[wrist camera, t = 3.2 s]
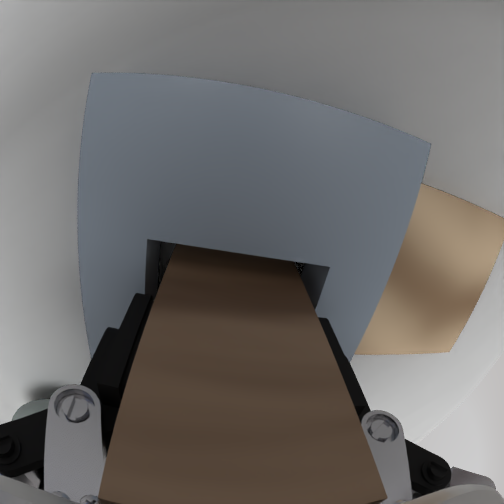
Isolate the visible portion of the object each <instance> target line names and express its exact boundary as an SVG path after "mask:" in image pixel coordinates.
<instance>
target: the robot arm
mask: <svg viewBox="0 0 504 504" xmlns="http://www.w3.org/2000/svg"><path fill="white" fill-rule="evenodd" d="M153 303H154V300H153V298H152V296H151V295H146V294H140V293H135V295H134V297H133V299H132V301H131V304H130V306H129V308H128V310H127V312H126V314H125V317H124V319H123V321H122V323H121V325H120V328H119V329H117V328H112V327H108V328H107V329H106V330H105V332H104V334H103V336H102V338H101V340H100V342H99V344H98V346H97V349H96V351H95V353H94V355H93V357H92V359H91V362H90V364H89V366H88V368H87V370H86V373H85V375H84V377H83V380H82V382H81V384H80V385H77V384H72V385H66V386H63V387H60V388H59V389H57V390H56V391H55V392H54V393H53V394H52V396H51V397H50V401H49V405H48V409H45V410H42V411H39V412H37V413H34V414H31V415H28V416H25V417H22V418H19V419H17V420H14V421H11V422H8V423H5V424H1V425H0V504H102V502H101V501H100V500H99V498H98V494H99V489H100V485H101V480H102V475H103V471H104V466H105V462H106V458H107V454H108V449H109V445H110V441H111V437H112V434H113V430H114V426H115V422H116V419H117V415H118V411H119V408H120V404H121V401H122V397H123V394H124V390H125V387H126V384H127V380H128V377H129V374H130V371H131V368H132V364H133V361H134V358H135V355H136V352H137V349H138V346H139V343H140V340H141V337H142V334H143V331H144V328H145V325H146V322H147V320H148V317H149V314H150V311H151V308H152V306H153ZM318 319H319V321H320V323H321V326H322V328H323V331H324V333H325V335H326V338H327V340H328V343H329V345H330V347H331V350H332V352H333V355H334V357H335V360H336V362H337V365H338V367H339V370H340V372H341V375H342V377H343V379H344V382H345V385H346V387H347V390H348V392H349V395H350V397H351V400H352V402H353V405H354V407H355V410H356V413H357V415H358V418H359V420H360V423H361V426H362V428H363V431H364V434H365V436H366V439H367V442H368V444H369V447H370V450H371V452H372V455H373V458H374V461H375V463H376V466H377V469H378V472H379V474H380V477H381V480H382V483H383V486H384V489H385V492H386V494H387V497H388V498H387V499H386V500H384V501H383V502H381V503H380V504H504V499H503V498H502V496H501V495H500V494H499V492H498V491H496V488H495V485H494V482H493V481H492V480H491V479H490V478H488V477H486V476H482V475H479V474H475V473H472V472H468V471H465V470H462V469H459V468H456V467H452V468H451V469H450V467H449V465H448V463H447V462H446V461H445V460H444V459H443V458H441V457H439V456H437V455H435V454H433V453H431V452H429V451H427V450H425V449H423V448H421V447H420V446H418V445H416V444H414V443H412V442H410V441H408V440H406V439H405V438H404V432H403V428H402V425H401V423H400V422H399V420H398V419H397V418H396V417H395V416H393V415H392V414H390V413H388V412H386V411H382V410H373V411H371V410H370V408H369V406H368V403H367V401H366V399H365V397H364V394H363V392H362V390H361V387H360V385H359V383H358V381H357V378H356V376H355V374H354V371H353V369H352V367H351V365H350V363H349V360H348V358H347V357H346V356H345V355H344V353H343V351H342V348H341V346H340V344H339V342H338V340H337V337H336V335H335V333H334V331H333V329H332V326H331V324H330V322H329V320H328V319H327V318H322V317H318Z"/></svg>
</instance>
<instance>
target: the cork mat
mask: <svg viewBox="0 0 504 504" xmlns="http://www.w3.org/2000/svg"><path fill="white" fill-rule="evenodd" d="M503 241H504V218H503V217H500V216H498V215H496V214H494V213H492V212H490V211H488V210H485V209H483V208H481V207H479V206H477V205H474V204H472V203H470V202H467V201H465V200H463V199H460V198H458V197H456V196H453V195H451V194H448V193H446V192H443V191H441V190H438V189H435V188H433V187H430V186H428V185H425V184H422V183H421V186H420V190H419V193H418V197H417V200H416V203H415V206H414V210H413V213H412V216H411V219H410V222H409V225H408V228H407V231H406V234H405V237H404V240H403V242H402V245H401V248H400V251H399V253H398V256H397V259H396V261H395V264H394V267H393V269H392V272H391V274H390V277H389V279H388V282H387V284H386V286H385V289H384V291H383V294H382V296H381V298H380V301H379V303H378V305H377V307H376V310H375V312H374V314H373V316H372V318H371V321H370V323H369V325H368V327H367V329H366V331H365V333H364V335H363V337H362V339H361V341H360V343H359V345H358V347H357V349H356V351H355V353H354V354H360V355H387V354H423V353H442V352H450V350H451V348H452V347H453V345H454V343H455V342H456V340H457V338H458V337H459V335H460V333H461V331H462V330H463V328H464V326H465V324H466V323H467V321H468V319H469V317H470V315H471V313H472V311H473V309H474V307H475V305H476V303H477V301H478V299H479V297H480V295H481V293H482V291H483V289H484V287H485V285H486V283H487V280H488V278H489V276H490V274H491V271H492V269H493V266H494V264H495V262H496V259H497V257H498V254H499V252H500V249H501V246H502V244H503Z"/></svg>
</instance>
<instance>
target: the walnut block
mask: <svg viewBox="0 0 504 504" xmlns="http://www.w3.org/2000/svg"><path fill="white" fill-rule="evenodd" d="M98 498H99V500H100V501H101V502H102V504H380V503H381V502H383V501H384V500H386V499H387V498H388V497H387V494H386V492H385V489H384V486H383V483H382V480H381V477H380V474H379V472H378V469H377V466H376V463H375V461H374V458H373V455H372V452H371V450H370V447H369V444H368V442H367V439H366V436H365V434H364V431H363V428H362V426H361V423H360V420H359V418H358V415H357V413H356V410H355V407H354V405H353V402H352V400H351V397H350V395H349V392H348V390H347V387H346V385H345V382H344V379H343V377H342V375H341V372H340V370H339V367H338V365H337V362H336V360H335V357H334V355H333V352H332V350H331V347H330V345H329V343H328V340H327V338H326V335H325V333H324V331H323V328H322V326H321V323H320V321H319V319H318V316H317V314H316V312H315V309H314V307H313V305H312V302H311V300H310V298H309V295H308V293H307V291H306V288H305V286H304V284H303V282H302V279H301V277H300V275H299V272H298V270H297V268H296V266H295V263H294V261H288V260H281V259H275V258H268V257H261V256H255V255H248V254H242V253H235V252H229V251H222V250H216V249H209V248H203V247H196V246H189V245H183V244H177V243H176V246H175V248H174V251H173V253H172V256H171V258H170V261H169V263H168V266H167V268H166V271H165V273H164V276H163V279H162V281H161V284H160V287H159V289H158V292H157V295H156V297H155V300H154V303H153V306H152V308H151V311H150V314H149V317H148V320H147V322H146V325H145V328H144V331H143V334H142V337H141V340H140V343H139V346H138V349H137V352H136V355H135V358H134V361H133V364H132V368H131V371H130V374H129V377H128V380H127V384H126V387H125V390H124V394H123V397H122V401H121V404H120V408H119V411H118V415H117V419H116V422H115V426H114V430H113V434H112V437H111V441H110V445H109V449H108V454H107V458H106V462H105V466H104V471H103V475H102V480H101V485H100V489H99V494H98Z"/></svg>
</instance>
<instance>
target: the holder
mask: <svg viewBox="0 0 504 504" xmlns="http://www.w3.org/2000/svg"><path fill="white" fill-rule="evenodd" d="M430 148H431V144H430V143H428V142H426V141H424V140H422V139H419V138H417V137H415V136H412V135H410V134H408V133H405V132H403V131H400V130H398V129H395V128H393V127H390V126H388V125H385V124H383V123H380V122H377V121H375V120H372V119H369V118H366V117H363V116H360V115H358V114H355V113H352V112H349V111H345V110H342V109H339V108H336V107H333V106H329V105H326V104H323V103H319V102H315V101H312V100H308V99H304V98H301V97H297V96H293V95H289V94H284V93H280V92H276V91H271V90H267V89H262V88H257V87H252V86H246V85H241V84H235V83H229V82H223V81H216V80H209V79H201V78H193V77H184V76H173V75H161V74H144V73H92V75H91V80H90V85H89V90H88V96H87V102H86V108H85V115H84V123H83V131H82V140H81V150H80V162H79V178H78V253H79V270H80V282H81V292H82V302H83V310H84V317H85V325H86V331H87V337H88V343H89V349H90V354H91V359H92V357H93V355H94V353H95V351H96V349H97V346H98V344H99V342H100V340H101V338H102V336H103V334H104V332H105V330H106V329H107V328H108V327H112V328H117V329H119V328H120V325H121V323H122V321H123V319H124V317H125V314H126V312H127V310H128V308H129V306H130V304H131V301H132V299H133V297H134V295H135V293H140V294H146V295H151V296H152V298H153V300H155V297H156V295H157V284H158V267H159V253H160V241H164V242H170V243H177V244H183V245H189V246H196V247H203V248H209V249H216V250H222V251H229V252H235V253H242V254H248V255H255V256H261V257H268V258H275V259H281V260H288V261H294V262H301V263H305V264H304V268H303V271H302V274H301V279H302V282H303V284H304V286H305V288H306V291H307V293H308V295H309V298H310V300H311V302H312V305H313V307H314V309H315V312H316V314H317V316H318V317H322V318H327V319H328V320H329V322H330V324H331V326H332V329H333V331H334V333H335V335H336V337H337V340H338V342H339V344H340V346H341V348H342V351H343V353H344V355H345V356H346V357H347V358H348V360H349V363H350V361H351V359H352V357H353V355H354V353H355V351H356V349H357V347H358V345H359V343H360V341H361V339H362V337H363V335H364V333H365V331H366V329H367V327H368V325H369V323H370V321H371V318H372V316H373V314H374V312H375V310H376V307H377V305H378V303H379V301H380V298H381V296H382V294H383V291H384V289H385V286H386V284H387V282H388V279H389V277H390V274H391V272H392V269H393V267H394V264H395V261H396V259H397V256H398V253H399V251H400V248H401V245H402V242H403V240H404V237H405V234H406V231H407V228H408V225H409V222H410V219H411V216H412V213H413V210H414V206H415V203H416V200H417V197H418V193H419V190H420V186H421V183H422V179H423V175H424V172H425V168H426V164H427V160H428V156H429V152H430Z"/></svg>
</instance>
